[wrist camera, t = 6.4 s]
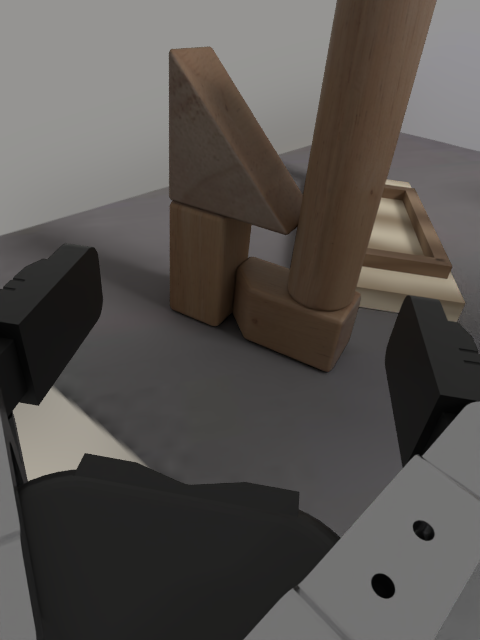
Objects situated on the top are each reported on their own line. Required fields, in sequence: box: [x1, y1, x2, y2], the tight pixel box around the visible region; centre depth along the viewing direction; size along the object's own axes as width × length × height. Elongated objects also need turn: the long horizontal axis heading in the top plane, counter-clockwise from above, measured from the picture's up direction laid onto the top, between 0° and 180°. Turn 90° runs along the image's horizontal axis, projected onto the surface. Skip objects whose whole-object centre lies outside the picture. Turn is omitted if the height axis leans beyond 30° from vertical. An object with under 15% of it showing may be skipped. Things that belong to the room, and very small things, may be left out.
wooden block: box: [169, 0, 436, 372], centre depth 23 cm, size 4×11×18 cm, turn 61°
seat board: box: [355, 180, 465, 322], centre depth 40 cm, size 24×10×2 cm, turn 172°
